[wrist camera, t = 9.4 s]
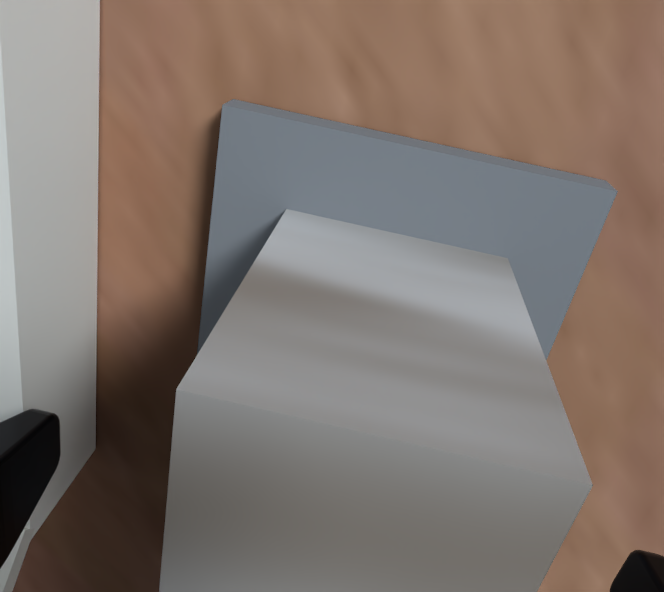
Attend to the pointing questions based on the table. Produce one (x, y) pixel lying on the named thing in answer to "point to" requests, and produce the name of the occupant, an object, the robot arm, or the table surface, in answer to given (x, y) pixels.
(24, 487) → the robot arm
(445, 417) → the walnut box
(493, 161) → the slate mat
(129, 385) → the table surface
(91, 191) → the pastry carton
